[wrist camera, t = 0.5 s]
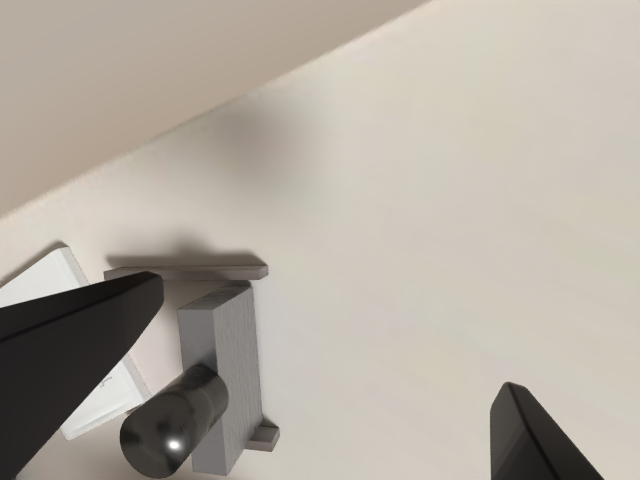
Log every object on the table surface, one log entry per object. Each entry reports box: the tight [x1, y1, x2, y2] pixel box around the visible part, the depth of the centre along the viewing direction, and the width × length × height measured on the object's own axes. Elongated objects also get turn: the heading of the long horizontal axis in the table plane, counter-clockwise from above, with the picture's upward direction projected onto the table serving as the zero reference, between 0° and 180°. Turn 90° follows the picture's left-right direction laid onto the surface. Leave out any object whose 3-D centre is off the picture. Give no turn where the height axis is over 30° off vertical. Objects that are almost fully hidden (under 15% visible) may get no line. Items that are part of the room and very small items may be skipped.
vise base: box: [104, 265, 280, 452], centre depth 25 cm, size 12×26×3 cm, turn 93°
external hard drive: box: [0, 247, 152, 441], centre depth 27 cm, size 2×8×12 cm
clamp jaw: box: [120, 287, 263, 479], centre depth 19 cm, size 9×3×9 cm, turn 3°
